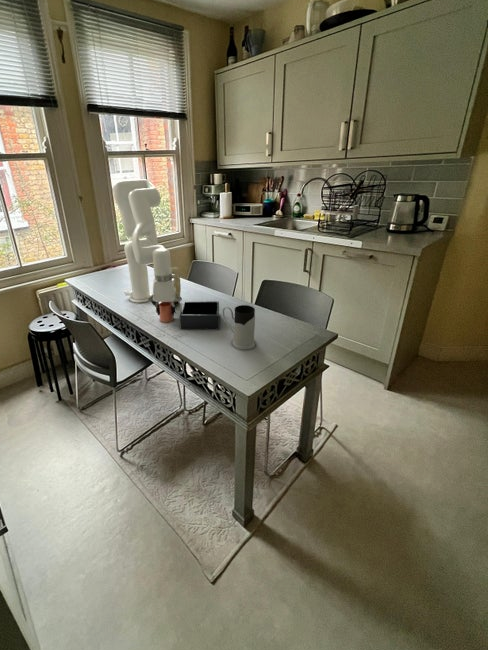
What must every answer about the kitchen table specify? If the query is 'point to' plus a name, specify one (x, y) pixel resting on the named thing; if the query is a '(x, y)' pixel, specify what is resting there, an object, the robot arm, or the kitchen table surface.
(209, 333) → the kitchen table surface
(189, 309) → the black storage bin
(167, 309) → the cup
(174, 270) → the food model
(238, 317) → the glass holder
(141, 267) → the robot arm
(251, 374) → the kitchen table surface
